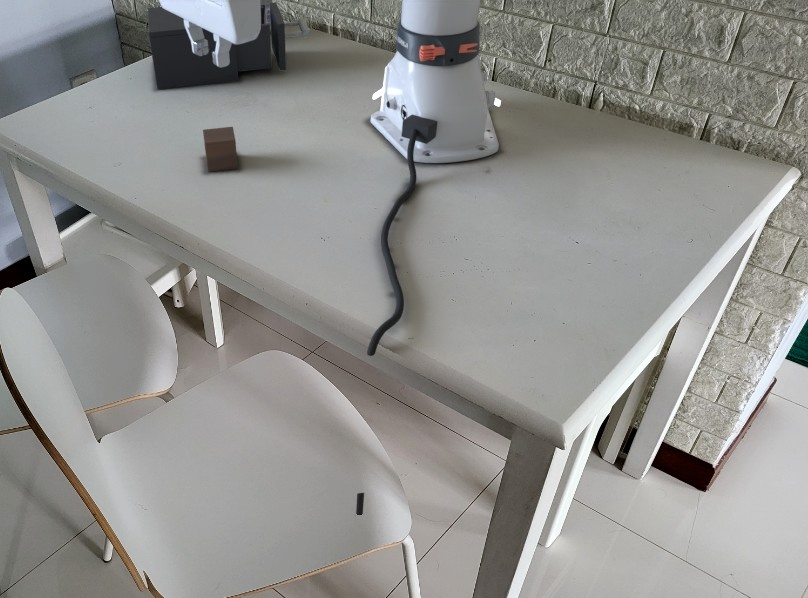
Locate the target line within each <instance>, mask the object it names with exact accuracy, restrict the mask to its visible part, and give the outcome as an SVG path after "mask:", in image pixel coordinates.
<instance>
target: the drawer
mask: <svg viewBox="0 0 808 598" xmlns="http://www.w3.org/2000/svg"><path fill="white" fill-rule="evenodd" d="M280 11H281V10H280V9H279V5H278V3H277V2H276V1H275V2H272V3H270V19H271V32H270V24H264V7H263V6H261V29H260V32H259V35H258V37H257V38H256V39H255V40H252V41H249V42H246V43H242V44H238V45H236V54H237V67H238V72H247V71H256V70H266V69H272V68H273V65H272V52H273V56H274V58H275V61H276V64H277V68H278V70H279V71H286V70H287V54H286V51H287V50H286V38H291V37H292V38H293V37H301V36H302V37H303V38H305V39H308V38H309V37H310V36H311V30H310V28H309V26H308V24H307V22H306V19H304V18H303V17H302V18H301V17H300V18H299V19H298V20H296V21H290V22H289V21H288V22H285V21H284V18H283V15H282V13H281V12H280ZM290 27H291V28H292V27H298V28H299V31H289V32H288V31H287V32H286V28H290Z"/></svg>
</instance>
